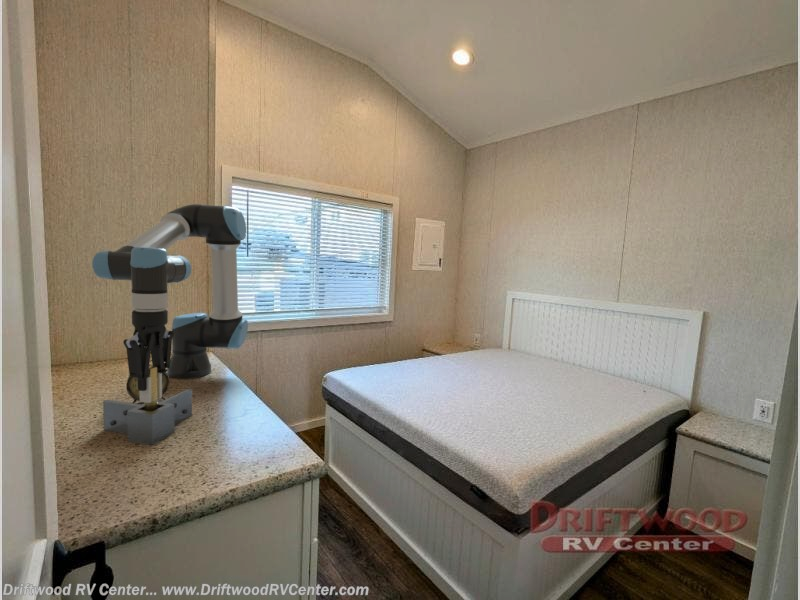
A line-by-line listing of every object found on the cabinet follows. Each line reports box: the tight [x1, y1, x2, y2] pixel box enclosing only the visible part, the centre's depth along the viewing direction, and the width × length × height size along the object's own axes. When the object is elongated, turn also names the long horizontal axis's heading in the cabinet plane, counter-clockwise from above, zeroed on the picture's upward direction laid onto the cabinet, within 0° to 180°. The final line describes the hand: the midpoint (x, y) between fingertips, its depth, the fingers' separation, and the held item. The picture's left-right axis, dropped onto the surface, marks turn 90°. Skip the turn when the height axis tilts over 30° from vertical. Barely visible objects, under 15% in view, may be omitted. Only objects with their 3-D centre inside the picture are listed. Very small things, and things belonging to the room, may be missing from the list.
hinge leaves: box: [102, 388, 193, 446], centre depth 104 cm, size 18×18×8 cm
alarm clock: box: [125, 359, 170, 404], centre depth 118 cm, size 11×5×16 cm, turn 123°
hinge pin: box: [144, 366, 159, 412], centre depth 97 cm, size 3×3×15 cm
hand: (151, 399), depth 97 cm, fingers closed on hinge pin, 3 cm apart
